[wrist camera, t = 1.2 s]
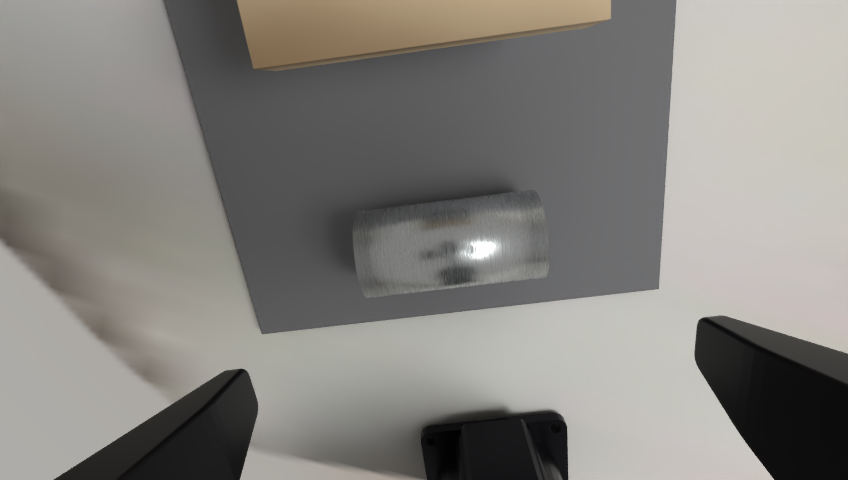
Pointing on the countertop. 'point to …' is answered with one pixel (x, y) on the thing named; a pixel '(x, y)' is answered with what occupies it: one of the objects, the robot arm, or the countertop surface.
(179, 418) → the robot arm
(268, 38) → the oak slab
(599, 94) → the rubber mat
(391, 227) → the loose steel roller
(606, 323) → the countertop surface
